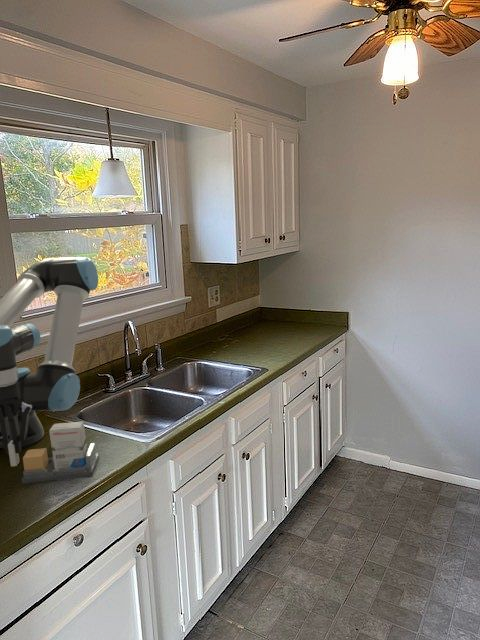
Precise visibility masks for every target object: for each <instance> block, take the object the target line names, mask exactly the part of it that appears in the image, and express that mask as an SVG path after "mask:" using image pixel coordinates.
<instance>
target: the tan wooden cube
mask: <svg viewBox="0 0 480 640" xmlns="http://www.w3.org/2000/svg"><path fill="white" fill-rule="evenodd" d="M47 449H48V448H47V447H45V448H44V447H43V448H35V449H34V448H32V449H27V451H26V452H25V454H24V456H23V457H22V462H23V463H22V464H23V469H24V470H23V471H27V470H37V469H45V468H46V466H47V464H48V458H49V456H48V450H47Z"/></svg>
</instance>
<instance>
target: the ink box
mask: <svg viewBox="0 0 480 640" xmlns="http://www.w3.org/2000/svg"><path fill="white" fill-rule="evenodd" d="M48 432H49V438H50V445H51V446H50V447H51V453H52V457H53V460H54V467H55V469H59V468H66V467H76V466H86V457H85V456H86V453H87V451H88V445H87V437H86V429H85V423H84V421H73V422H61V423H60V422H59V423H53V425H51V427H50V429H49V430H48Z"/></svg>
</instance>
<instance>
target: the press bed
mask: <svg viewBox="0 0 480 640" xmlns="http://www.w3.org/2000/svg"><path fill="white" fill-rule="evenodd" d="M85 457H86V466H76V467H66V468H59V469H55V467H54V460H53V456H52V457H48V464H47V466H46V468H45V469H37V470H27V471H25V470H23V472H22V473H23V476H22V477H21V483H22V485H25V484H26V485H27V484H37V483H46V482H53V481H63V480H65V481H66V480H73V479H74V480H75V479H82V478H83V479H85V478H93V477H94V473H95V470H96V468H97V465H98V462H99V459H100V457H99V453H98V452H97V451H96V443H94V442H93V443H92V442H91V443H89V446H88V447H87V453H86V456H85Z"/></svg>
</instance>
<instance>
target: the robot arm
mask: <svg viewBox="0 0 480 640" xmlns="http://www.w3.org/2000/svg"><path fill="white" fill-rule="evenodd" d="M98 285H99V273H98V270H97V266H96V264H95V262H94V261H93V260H92V259H91V258H89V257H86V256H83V257H82V256H75V257H50V258H49V257H48V258H45V259H42V260H40V261H37V262H35V263H34V264H32V265H31V266H30V267H28V268H26V269H25V270H24V271H23V272H22V273H21V274H19V276H18V277H17V279H16V283H15V284H14V285H13V286H12V287H11V289H9V290H8V291H7V292H6V293H5V294H4V295H3V297H1V298H0V448H2V449H1V450H4V452H5V454H6V455H8V456H9V464H10V467H17V466H18V464H19V463H20V462H21V461H20V455H19V454H20V453H21V452H22V448H24V447H28V446H30V445H33V444H35V443H37V442H38V441H40V440H41V439H43V437H44V436H45V431H44V426H43V425H42V423H41V421H40V419H39V417H38V416H37V413H36V411H44V412H45V411H50V412H51V411H52V412H58V411H67V410H70V409H71V408H72V407H73V406H74V405H75V404H76V402H77V400H78V397H79V395H80V392H81V384H80V383H81V380H80V377H79V376H78V375H77V374H76V369H75V368H74V367H73V360H74V355H75V349H76V346H77V345H76V343H77V339H78V332H79V326H80V321H81V316H82V311H83V305H84V301H85V300H87V299H88V298H89V297H90V292H91V291H94V290H96V289H98ZM47 292H54V293H55V295H56V296H57V297H56V301H55V302H56V303H55V307H54V312H53V316H52V321H51V327H50V331H49V336H48V340H47V346H46V350H45V354H44V355H45V356H44V359H43V360H44V361H43V362H42V363H40V364H38V366H37V370H36V373H31V370H30V368H29V367H18V366H17V360H16V359H17V358H16V356H19V355H21V354H23V353H25V352H28V351H30V350H32V349H33V348H35V347H37V346H38V345H39V343H40V341H41V333H40V330H39V329H38V328H37V326H36V325H34V324H32V323H21V324H19V325H17V326H12V325H13V324H14V323H15V321H17V319H18V318H19V317H20V316H21V315H22V314H23V313H24V311H26V309H27V308H28V307H29V306H30V305H31V303H33V301H34V300H35V299H37V298H40V297H42V296H43V294H45V293H47Z"/></svg>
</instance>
